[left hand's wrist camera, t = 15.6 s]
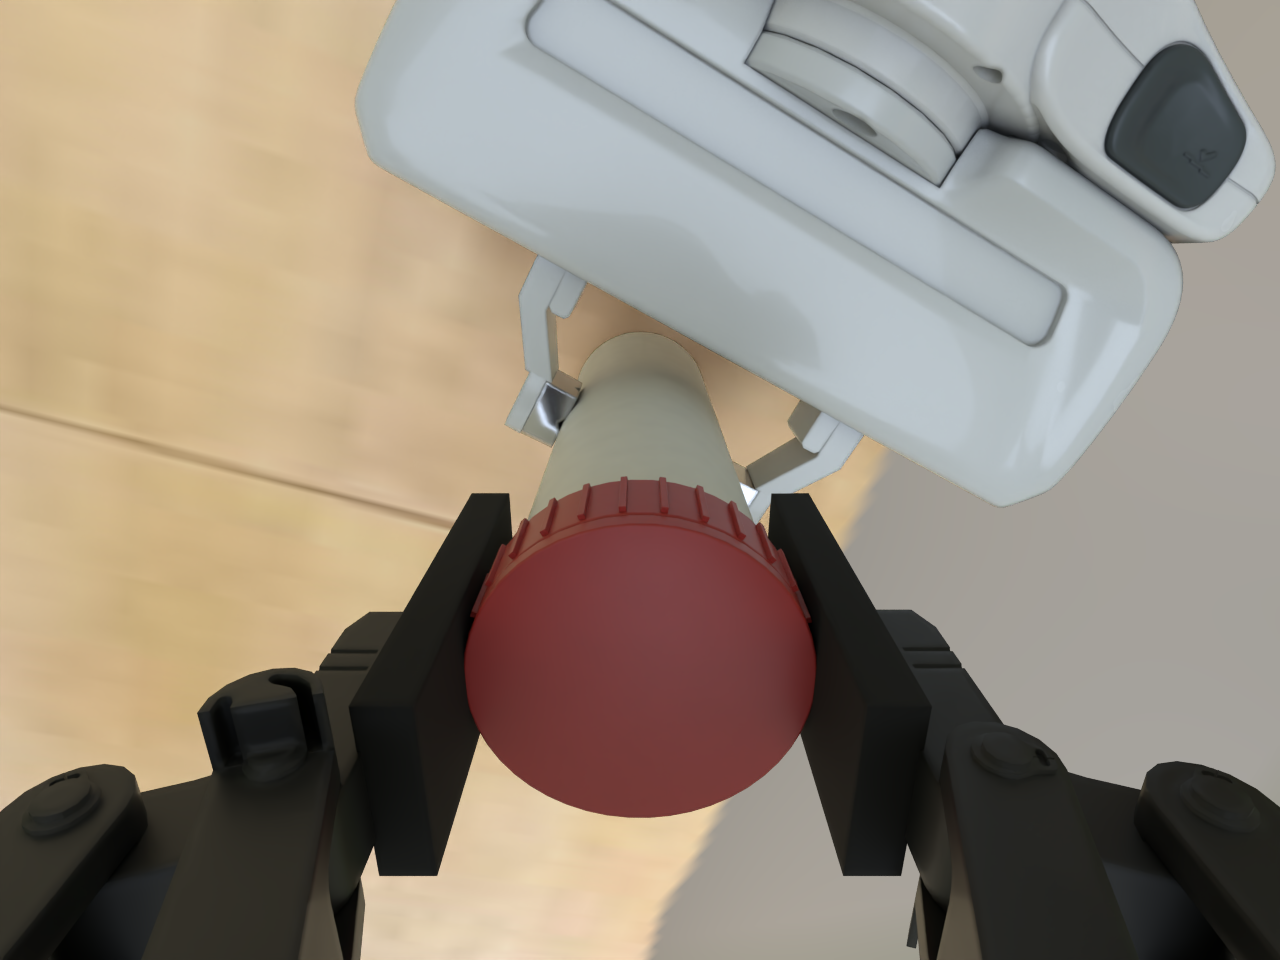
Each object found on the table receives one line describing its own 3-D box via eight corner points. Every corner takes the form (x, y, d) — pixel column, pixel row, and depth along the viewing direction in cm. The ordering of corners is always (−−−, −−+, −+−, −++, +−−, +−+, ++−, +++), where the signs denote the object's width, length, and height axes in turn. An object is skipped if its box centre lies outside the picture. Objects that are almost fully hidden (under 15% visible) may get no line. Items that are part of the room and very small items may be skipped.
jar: (666, 307, 26) (707, 468, 10) (726, 419, 27) (842, 712, 12) (551, 371, 27) (424, 612, 11) (616, 477, 28) (586, 822, 12)
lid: (561, 417, 11) (548, 455, 9) (859, 558, 12) (894, 615, 10) (436, 678, 13) (406, 748, 11) (703, 784, 14) (711, 863, 12)
